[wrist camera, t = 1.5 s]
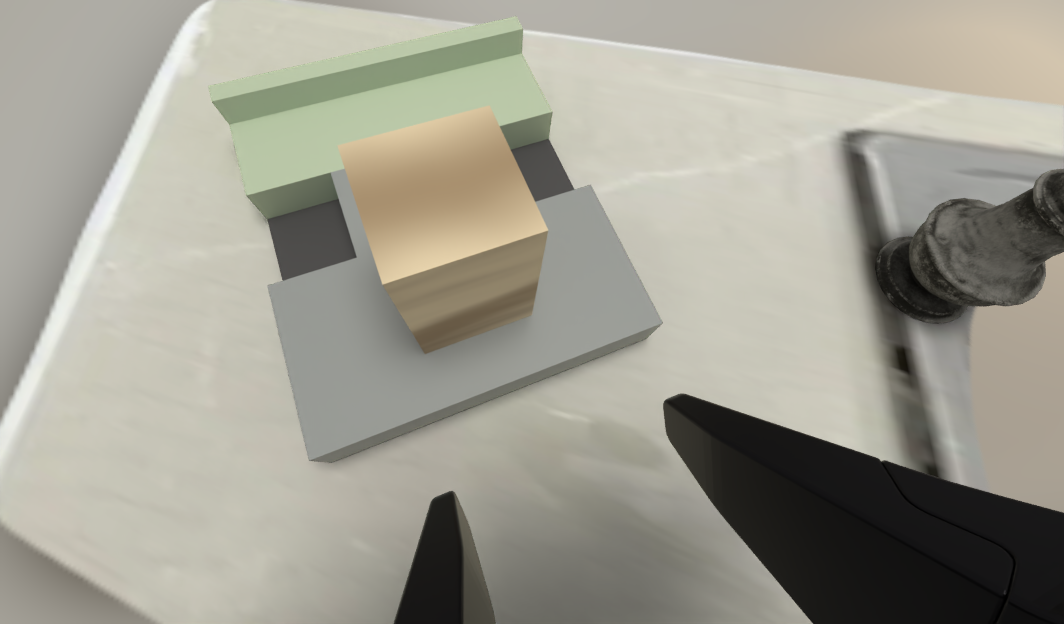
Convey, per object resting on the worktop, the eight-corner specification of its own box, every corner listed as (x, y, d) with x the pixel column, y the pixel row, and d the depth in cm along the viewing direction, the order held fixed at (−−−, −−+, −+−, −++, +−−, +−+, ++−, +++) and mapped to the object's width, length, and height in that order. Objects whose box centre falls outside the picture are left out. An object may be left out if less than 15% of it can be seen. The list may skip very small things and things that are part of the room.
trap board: (646, 338, 23) (674, 311, 19) (331, 462, 20) (292, 459, 16) (514, 76, 28) (516, 16, 25) (250, 143, 25) (208, 86, 22)
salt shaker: (851, 246, 26) (1120, 68, 15) (934, 223, 27) (1248, 40, 16) (907, 341, 24) (1266, 221, 13) (995, 313, 25) (1401, 178, 14)
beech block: (532, 315, 20) (548, 230, 13) (424, 354, 19) (382, 284, 12) (493, 224, 22) (489, 105, 15) (392, 256, 21) (337, 145, 14)
